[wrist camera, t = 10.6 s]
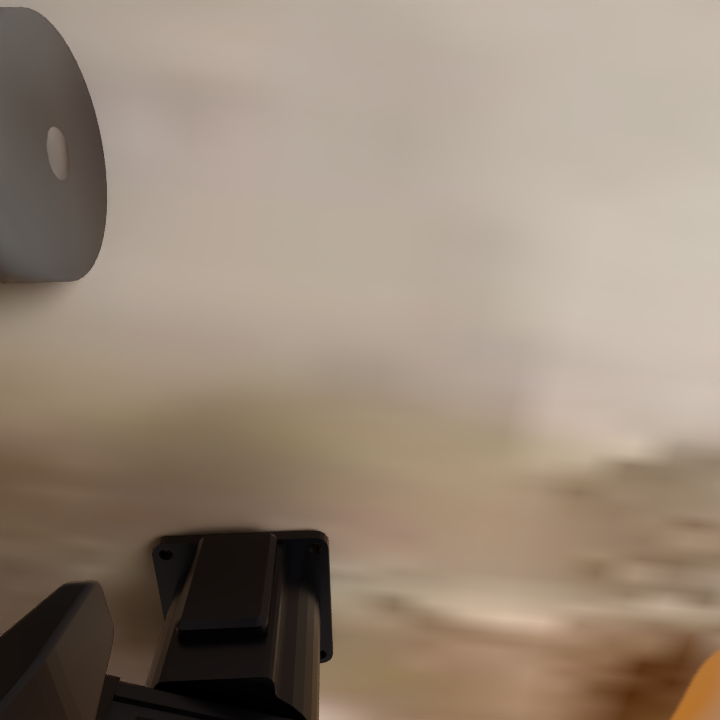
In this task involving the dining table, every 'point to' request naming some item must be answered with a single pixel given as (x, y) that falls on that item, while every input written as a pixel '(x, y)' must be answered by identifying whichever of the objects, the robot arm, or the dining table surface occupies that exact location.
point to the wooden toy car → (46, 156)
